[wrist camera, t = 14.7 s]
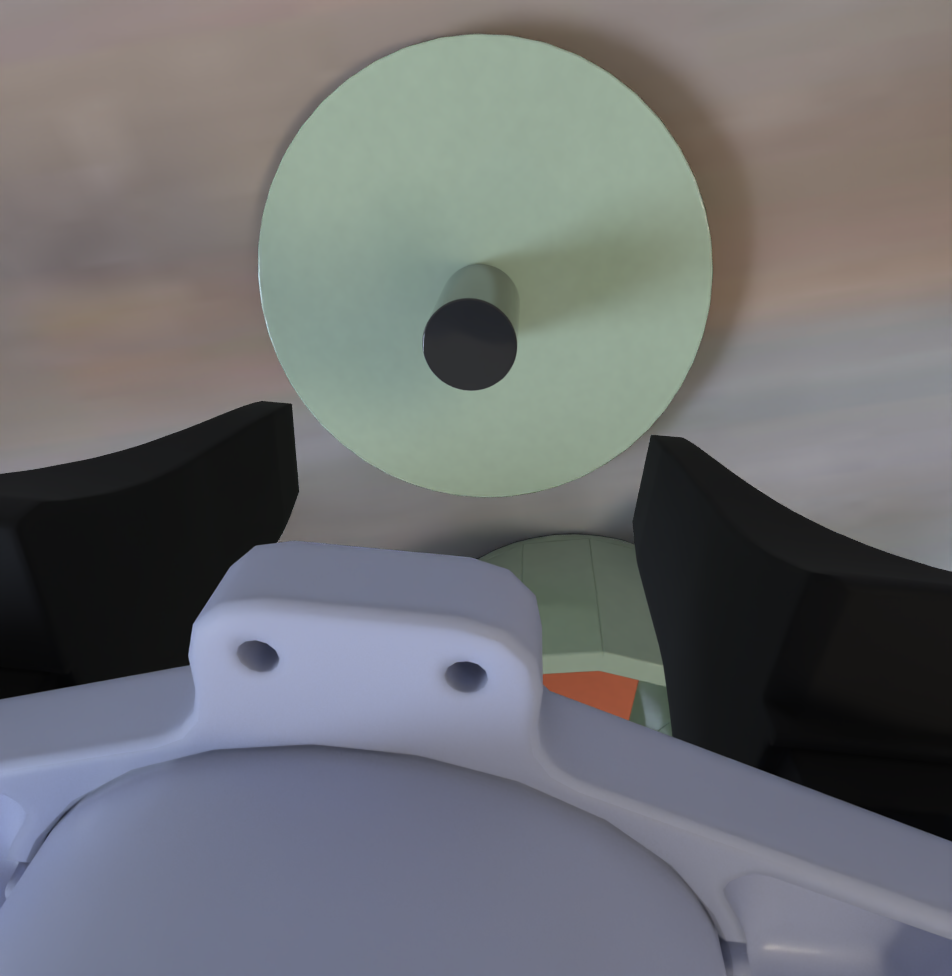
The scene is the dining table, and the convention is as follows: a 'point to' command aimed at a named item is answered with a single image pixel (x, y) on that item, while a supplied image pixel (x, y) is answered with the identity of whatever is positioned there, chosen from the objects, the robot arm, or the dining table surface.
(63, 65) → the dining table surface
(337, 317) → the pot lid
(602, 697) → the sushi
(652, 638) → the pot
